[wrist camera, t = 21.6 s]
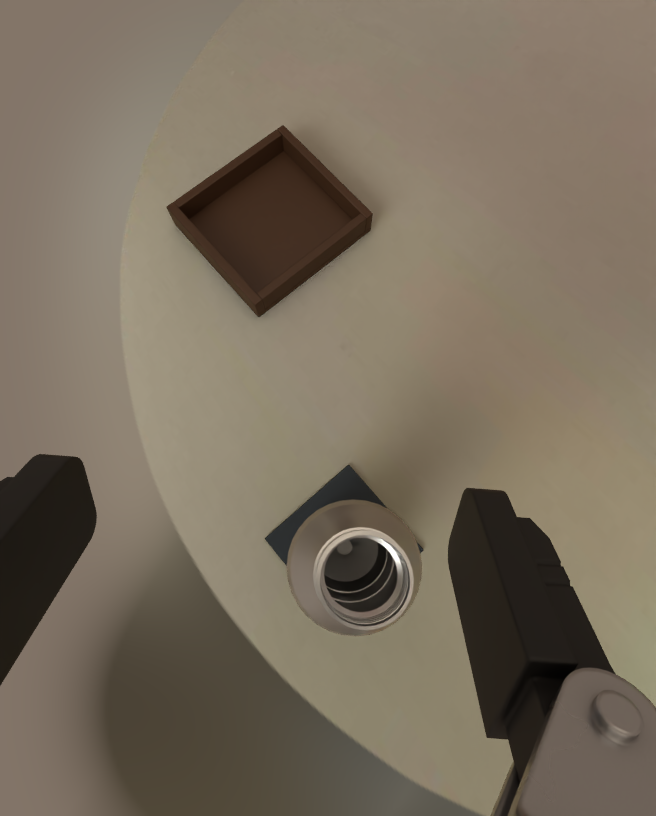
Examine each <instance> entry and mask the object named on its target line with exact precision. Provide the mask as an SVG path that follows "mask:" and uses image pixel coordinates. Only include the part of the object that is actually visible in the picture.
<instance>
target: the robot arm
mask: <svg viewBox="0 0 656 816" xmlns="http://www.w3.org/2000/svg"><path fill="white" fill-rule="evenodd" d="M96 516H97V515H96V508H95V505H94V501H93V497H92V494H91V490H90V486H89V483H88V479H87V475H86V472H85V468H84V465H83V462H82V461H81V460H80V458H78V457H71V456H58V455H45V454H39V455H36V456H34V457H33V458H32V459H31V460H30V461H29V462H28V463H27V464H26V465H25V466H24V467H23V468H22V469H21V470H20V471H19V472H18V473H17V475H15V477H7V478H5V479H3V480H2V481H0V685H1V684H2V682H3V680H4V679H5V677H6V676H7V674H8V672H9V671H10V669H11V667H12V666H13V664H14V663H15V661H16V659H17V658H18V656H19V655H20V653H21V651H22V650H23V648H24V646H25V645H26V643H27V641H28V640H29V638H30V637H31V635H32V633H33V632H34V630H35V629H36V627H37V626H38V624H39V622H40V621H41V619H42V617H43V616H44V614H45V613H46V611H47V609H48V608H49V606H50V605H51V603H52V601H53V600H54V598H55V597H56V595H57V593H58V592H59V590H60V588H61V587H62V585H63V583H64V582H65V580H66V579H67V577H68V575H69V574H70V572H71V570H72V569H73V568H74V566H75V564H76V563H77V561H78V559H79V558H80V556H81V554H82V553H83V551H84V550H85V548H86V546H87V545H88V543H89V542H90V540H91V538H92V536H93V533H94V530H95V525H96ZM448 563H449V570H450V574H451V579H452V583H453V588H454V592H455V597H456V601H457V606H458V610H459V615H460V619H461V624H462V628H463V633H464V637H465V642H466V646H467V651H468V655H469V660H470V664H471V669H472V673H473V678H474V682H475V687H476V691H477V696H478V700H479V705H480V709H481V714H482V718H483V723H484V727H485V732H486V736H487V738H497V739H508V740H509V744H510V748H511V752H512V756H513V760H514V762H513V763H512V765H511V767H510V770H509V772H508V774H507V777H506V779H505V782H504V784H503V787H502V789H501V792H500V794H499V796H498V799H497V801H496V804H495V806H494V809H493V811H492V813H491V816H656V708H655V706H654V705H653V704H652V703H651V701H650V700H649V699H648V698H647V697H646V696H645V695H644V694H643V693H642V692H641V691H640V690H638V689H637V688H636V687H635V686H634V685H632V684H631V683H629V682H628V681H626V680H625V679H623V678H621V677H619V676H618V675H616V674H615V672H614V671H613V669H612V667H611V665H610V664H609V661H608V659H607V657H606V655H605V653H604V651H603V649H602V647H601V645H600V643H599V641H598V639H597V636H596V634H595V632H594V630H593V628H592V626H591V624H590V622H589V620H588V618H587V616H586V613H585V611H584V609H583V607H582V605H581V603H580V601H579V599H578V597H577V595H576V593H575V591H574V588H573V587H571V586H570V580H569V578H568V576H567V574H566V572H565V570H564V568H563V567H561V564H560V563H561V561H560V559H559V557H558V555H557V553H556V551H555V549H554V547H553V545H552V543H551V540H550V539H549V538H548V536H547V535H546V534H545V533H544V532H543V531H542V530H541V529H540V528H539V527H538V526H537V525H536V524H535V523H534V522H533V521H532V520H531V519H530V518H521V517H516V514H515V512H514V510H513V507H512V505H511V502H510V500H509V498H508V496H507V494H506V493H505V492H504V491H501V490H488V489H475V488H466V489H465V490H464V492H463V495H462V498H461V501H460V505H459V508H458V511H457V515H456V518H455V522H454V525H453V529H452V532H451V535H450V539H449V546H448Z"/></svg>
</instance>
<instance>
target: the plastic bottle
mask: <svg viewBox="0 0 656 816" xmlns="http://www.w3.org/2000/svg"><path fill="white" fill-rule="evenodd" d="M421 574H422V562H421V555H420V551H419V548H418V545H417V542H416V539H415V538H414V536H413V534H412V532H411V531H410V529H409V528H408V526H407V525H406V524H405V523H404V522H403V521H402V519H401V518H400V517H398V516H397V515H396V514H394V513H393V512H392V511H391V510H389V509H387V508H385V507H383V506H381V505H379V504H376V503H373V502H369V501H365V500H354V499H352V500H342V501H338V502H335V503H331V504H328V505H326V506H324V507H322V508H320V509H319V510H317V511H316V512H314V513H313V514H312V515H311V516H309V517H308V518H307V519H306V520H305V521H304V523H303V524H302V525H301V526H300V527H299V529H298V530H297V532H296V534H295V536H294V538H293V539H292V542H291V545H290V548H289V551H288V558H287V576H288V582H289V585H290V589H291V592H292V594H293V596H294V598H295V600H296V602H297V604H298V605H299V607H300V608H301V609H302V611H303V612H304V613H305V614H306V615H307V616H308V617H309V618H310V619H311V620H312V621H314V622H315V623H316V624H317V625H319V626H321V627H323V628H325V629H327V630H328V631H331V632H334V633H338V634H341V635H349V636H361V635H370V634H373V633H376V632H379V631H382V630H384V629H385V628H387V627H389V626H391V625H392V624H394V623H395V622H396V621H398V620H399V619H400V618H401V617H402V616H403V615H404V614H405V613H406V611H407V610H408V609H409V607H410V606H411V605H412V603H413V601H414V599H415V597H416V595H417V593H418V590H419V586H420V582H421Z"/></svg>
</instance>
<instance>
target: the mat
mask: <svg viewBox="0 0 656 816" xmlns="http://www.w3.org/2000/svg"><path fill="white" fill-rule="evenodd" d="M352 499H354V500H365V501H369V502H373V503H376V504H379V505H381V506H383V507H385V508H386V506H385V505H384V504H383V503H382V502H381V501H380V500H379V498H378V497H377V496H376V495H375V494H374V493H373V492H372V490H371V489H370V488H369V487H368V486H367V485H366V484H365V483H364V481H363V480H362V479H361V478H360V477H359V476H358V475H357V473H356V472H355V471H354V470H353V469H352V468H351V467H350V465H348V466H347V467H345V468H344V469H343V470H342V471H341V472H340V473H339V474H338V475H336V476H335V477H334V478H333V479H332V480H331V481H330V482H328V483H327V484H326V485H325V486H324V487H323V488H322V489H320V490H319V491H318V492H317V493H316V494H315V495H314V496H313V497H311V498H310V499H309V500H308V501H307V502H306V503H305V504H303V505H302V506H301V507H300V508H299V509H298V510H297V511H295V512H294V513H293V514H292V515H291V516H290V517H289V518H287V519H286V520H285V521H284V522H283V523H282V524H281V525H280V526H278V527H277V528H276V529H275V530H274V531H273V532H272V533H270V534H269V535H268V536H267V537H266V538H265V540H266V541H267V542H268V543H269V545H270V546H271V547H272V548H273V550H274V551H275V552H276V553H277V554H278V556H279V557H280V558H281V559H282V561H283V562H284V563H285V564H286V566H287V558H288V551H289V548H290V545H291V542H292V539H293V538H294V536H295V534H296V532H297V530H298V529H299V527H300V526H301V525H302V524H303V523H304V521H305V520H306V519H307V518H308V517H309V516H311V515H312V514H313V513H314V512H316V511H317V510H319V509H320V508H322V507H324V506H326V505H328V504H331V503H335V502H338V501H342V500H352ZM417 545H418V548H419V551H420V553H421V552H422V551H423V549H422V547H421V546H420V545H419V544H418V543H417Z"/></svg>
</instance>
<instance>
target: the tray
mask: <svg viewBox="0 0 656 816" xmlns="http://www.w3.org/2000/svg"><path fill="white" fill-rule="evenodd" d="M167 209H168V211H169V213H170V215H171V217H172V219H173V221H174V223H175V225H176V226H177V227H178V228H179V229H180V230H181V231H182V233H183V234H184V235H185V236H186V237H187V238H188V239H189V240H190V241H191V243H192V244H193V245H194V246H195V247H196V248H197V249H198V250H199V251H200V253H201V254H202V255H203V256H204V257H205V258H206V259H207V260H208V261H209V263H210V264H211V265H212V266H213V267H214V268H215V269H216V270H217V271H218V273H219V274H220V275H221V276H222V277H223V278H224V279H225V280H226V281H227V283H228V284H229V285H230V286H231V287H232V288H233V289H234V290H235V291H236V293H237V294H238V295H239V296H240V297H241V298H242V299H243V300H244V301H245V303H246V304H247V305H248V306H249V307H250V308H251V309H252V310H253V311H254V313H255V314H256V315H257V316H258V317H260V316H261V315H262V314H264V313H265V312H266V311H268V310H269V309H270V308H271V307H273V306H274V305H275V304H276V303H278V302H279V301H280V300H282V299H283V298H284V297H285V296H287V295H288V294H289V293H291V292H292V291H293V290H294V289H296V288H297V287H298V286H300V285H301V284H302V283H303V282H305V281H306V280H307V279H309V278H310V277H311V276H312V275H314V274H315V273H316V272H318V271H319V270H320V269H321V268H323V267H324V266H325V265H327V264H328V263H329V262H330V261H332V260H333V259H334V258H335V257H337V256H338V255H339V254H341V253H342V252H343V251H344V250H346V249H347V248H348V247H350V246H351V245H352V244H353V243H355V242H356V241H357V240H359V239H360V238H361V237H362V236H364V235H365V234H366V233H368V232H369V231H370V229H371V222H372V216H373V214H372V212H371V211H370V210H369V209H368V208H367V207H366V206H365V205H363V204H362V203H361V202H360V201H359V200H358V199H357V198H356V197H355V196H354V195H353V194H352V193H351V192H350V191H349V190H348V189H347V188H346V187H345V186H344V185H343V184H342V183H341V182H340V181H339V180H338V179H337V178H336V177H335V176H334V175H333V174H332V173H331V172H330V171H329V170H328V169H327V168H326V167H325V166H324V165H323V164H322V163H321V162H320V161H319V160H318V159H317V158H316V157H315V156H314V155H313V154H312V153H311V152H310V151H309V150H308V149H307V148H306V147H305V146H304V145H303V144H302V143H301V142H300V141H299V140H298V139H297V138H296V137H295V136H294V135H293V134H292V133H291V132H290V131H289V130H288V129H287V128H285V127H284V126H281V127H280V128H278V129H277V130H275V131H274V132H272V133H271V134H269V135H268V136H267V137H265V138H264V139H262V140H261V141H260V142H258V143H257V144H255V145H254V146H252V147H251V148H250V149H248V150H247V151H245V152H244V153H242V154H241V155H240V156H238V157H237V158H235V159H234V160H232V161H231V162H230V163H228V164H227V165H225V166H224V167H223V168H221V169H220V170H218V171H217V172H215V173H214V174H213V175H211V176H210V177H208V178H207V179H205V180H204V181H203V182H201V183H200V184H198V185H197V186H195V187H194V188H193V189H191V190H190V191H188V192H187V193H186V194H184V195H183V196H181V197H180V198H178V199H177V200H176V201H174V202H173V203H171V204H170V205H168V206H167Z"/></svg>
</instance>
